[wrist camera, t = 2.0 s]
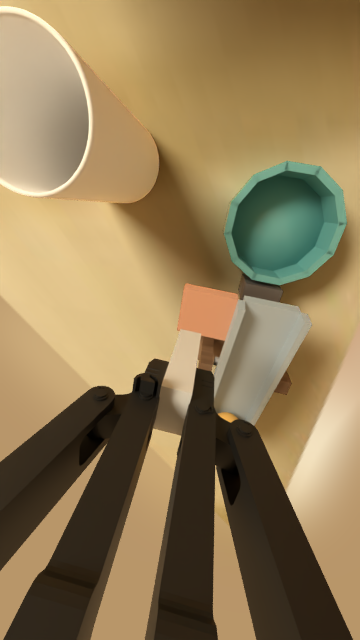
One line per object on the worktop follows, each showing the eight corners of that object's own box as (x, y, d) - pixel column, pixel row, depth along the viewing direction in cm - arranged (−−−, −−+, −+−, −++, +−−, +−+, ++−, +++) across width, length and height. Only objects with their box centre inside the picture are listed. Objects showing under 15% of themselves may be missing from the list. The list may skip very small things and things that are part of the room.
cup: (165, 125, 26) (97, 21, 12) (153, 210, 30) (89, 210, 15) (89, 109, 27) (-67, -10, 12) (86, 195, 30) (-38, 181, 16)
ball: (214, 402, 31) (211, 433, 28) (246, 410, 31) (246, 442, 28) (208, 418, 34) (205, 448, 31) (237, 425, 34) (237, 456, 31)
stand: (214, 268, 31) (213, 286, 24) (303, 286, 31) (330, 310, 23) (187, 388, 39) (179, 428, 32) (257, 404, 39) (266, 449, 31)
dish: (239, 161, 26) (242, 152, 23) (345, 179, 26) (367, 174, 22) (215, 264, 31) (214, 272, 27) (305, 282, 30) (317, 293, 27)
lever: (187, 278, 25) (180, 297, 22) (304, 302, 24) (314, 325, 21) (166, 399, 36) (160, 422, 33) (245, 418, 36) (246, 442, 33)
